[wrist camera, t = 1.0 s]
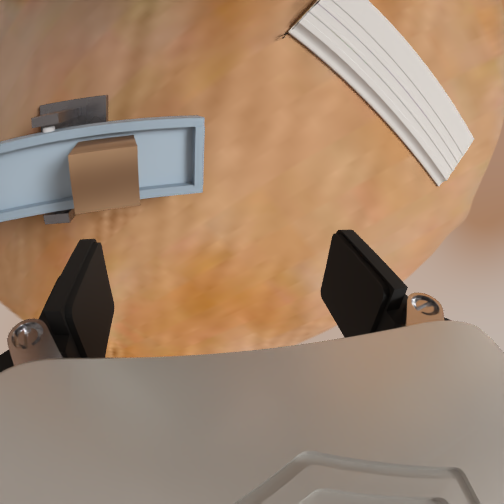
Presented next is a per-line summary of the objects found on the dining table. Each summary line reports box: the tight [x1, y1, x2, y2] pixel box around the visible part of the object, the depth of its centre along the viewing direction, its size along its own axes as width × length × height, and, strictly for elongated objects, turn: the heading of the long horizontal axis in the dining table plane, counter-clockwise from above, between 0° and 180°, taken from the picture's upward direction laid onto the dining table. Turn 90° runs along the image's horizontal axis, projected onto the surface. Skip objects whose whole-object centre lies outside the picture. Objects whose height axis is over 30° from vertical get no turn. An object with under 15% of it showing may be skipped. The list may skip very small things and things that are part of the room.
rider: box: [68, 135, 140, 215], centre depth 22 cm, size 4×5×6 cm
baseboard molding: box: [283, 0, 474, 186], centre depth 31 cm, size 31×3×12 cm
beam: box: [0, 115, 205, 222], centre depth 22 cm, size 8×28×3 cm, turn 86°
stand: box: [31, 95, 108, 224], centre depth 25 cm, size 12×28×8 cm, turn 86°
